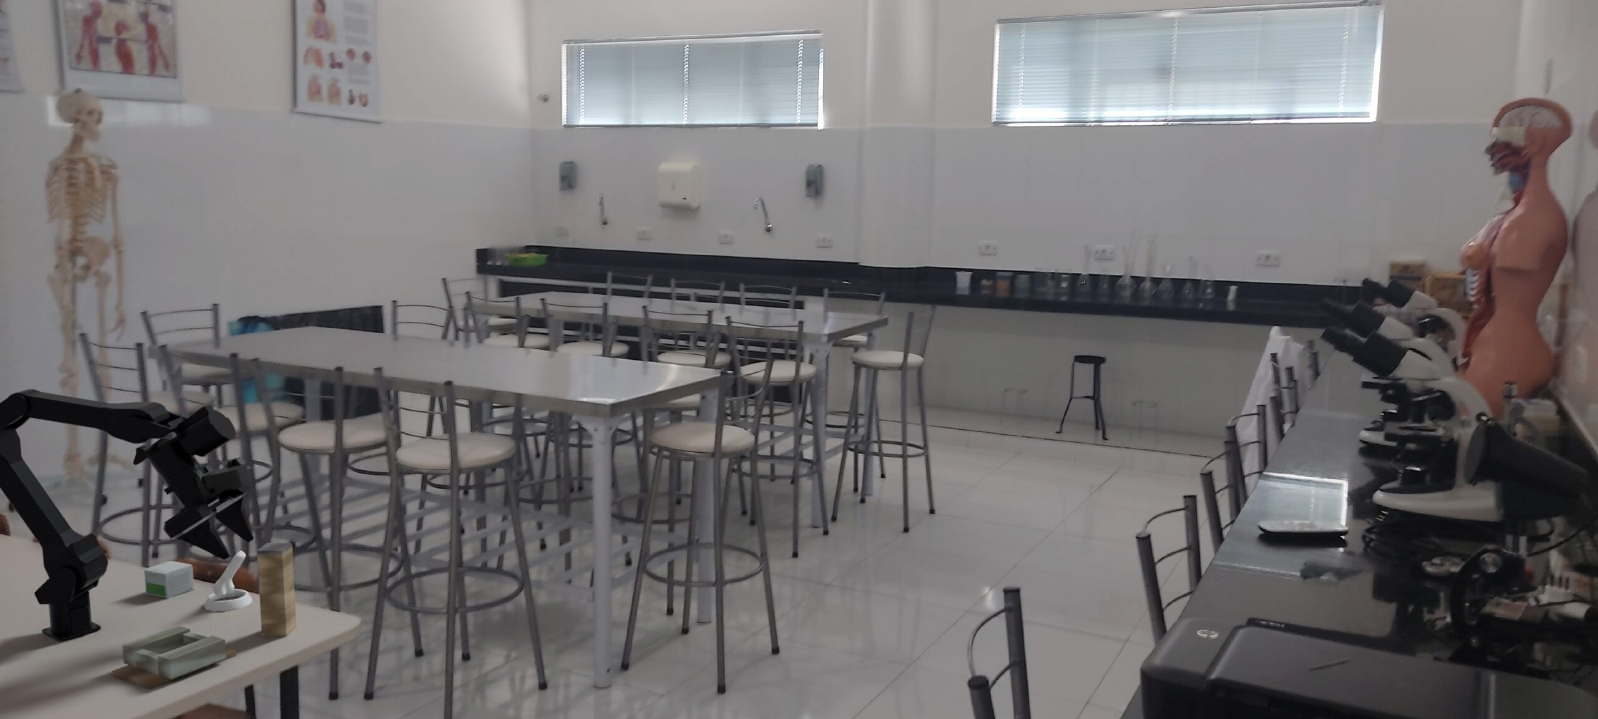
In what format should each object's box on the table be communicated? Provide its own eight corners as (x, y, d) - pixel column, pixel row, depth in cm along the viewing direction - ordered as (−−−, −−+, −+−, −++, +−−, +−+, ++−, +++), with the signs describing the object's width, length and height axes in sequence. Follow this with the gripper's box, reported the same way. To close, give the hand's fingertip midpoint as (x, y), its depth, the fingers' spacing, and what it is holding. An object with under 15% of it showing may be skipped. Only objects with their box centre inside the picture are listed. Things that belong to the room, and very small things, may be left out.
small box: (144, 595, 204) (142, 568, 203) (173, 585, 209) (171, 559, 208) (167, 599, 202) (165, 573, 201) (195, 589, 207) (193, 563, 206)
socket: (107, 674, 170) (105, 650, 170) (194, 642, 183) (192, 620, 182) (154, 690, 165) (153, 665, 164) (241, 656, 177) (239, 633, 177)
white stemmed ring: (264, 584, 195) (226, 564, 193) (230, 633, 198) (193, 614, 196) (279, 561, 202) (242, 542, 200) (246, 609, 205) (210, 591, 203)
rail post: (261, 636, 186) (257, 550, 184) (272, 626, 190) (267, 542, 188) (286, 636, 186) (282, 550, 184) (296, 626, 190) (292, 542, 188)
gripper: (196, 458, 174) (257, 540, 177) (247, 433, 193) (301, 507, 195) (136, 496, 174) (197, 578, 177) (192, 467, 193) (247, 541, 195)
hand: (239, 549), depth 186 cm, fingers open, 9 cm apart
